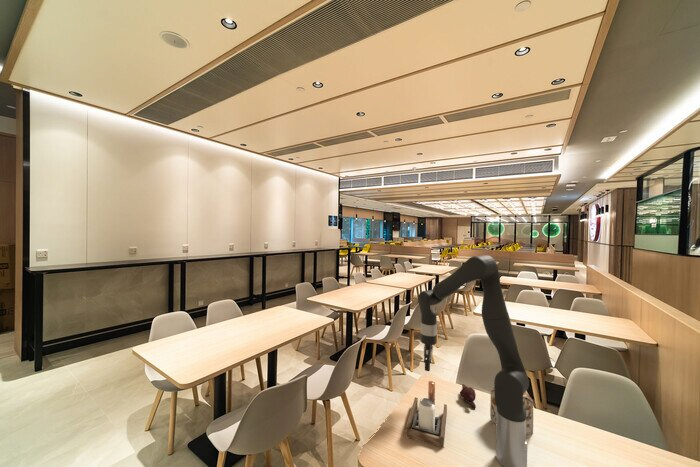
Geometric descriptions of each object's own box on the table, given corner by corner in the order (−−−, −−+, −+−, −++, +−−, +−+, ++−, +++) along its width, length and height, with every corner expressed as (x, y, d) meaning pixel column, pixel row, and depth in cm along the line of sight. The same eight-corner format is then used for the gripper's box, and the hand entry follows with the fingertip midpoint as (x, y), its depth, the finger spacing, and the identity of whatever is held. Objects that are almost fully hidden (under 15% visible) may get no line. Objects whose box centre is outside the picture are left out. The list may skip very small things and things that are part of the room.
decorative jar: (511, 415, 125) (511, 376, 125) (534, 434, 113) (534, 390, 113) (489, 419, 122) (489, 379, 122) (510, 438, 110) (510, 394, 111)
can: (435, 437, 111) (435, 407, 111) (418, 435, 112) (419, 405, 112) (433, 426, 117) (434, 398, 117) (418, 424, 118) (418, 396, 118)
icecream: (454, 379, 143) (464, 399, 129) (468, 376, 143) (480, 396, 128) (457, 391, 144) (467, 412, 129) (471, 389, 143) (483, 409, 128)
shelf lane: (446, 413, 126) (446, 404, 126) (443, 447, 105) (443, 437, 105) (414, 405, 131) (415, 397, 131) (405, 436, 111) (406, 426, 111)
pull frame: (443, 404, 131) (443, 383, 132) (438, 442, 108) (438, 416, 108) (420, 399, 135) (421, 378, 135) (411, 434, 112) (411, 409, 112)
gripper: (435, 339, 123) (435, 375, 123) (437, 328, 136) (437, 361, 136) (418, 336, 125) (418, 371, 125) (422, 326, 139) (421, 358, 139)
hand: (428, 366), depth 131 cm, fingers open, 8 cm apart
